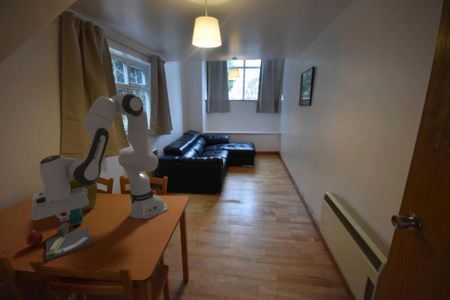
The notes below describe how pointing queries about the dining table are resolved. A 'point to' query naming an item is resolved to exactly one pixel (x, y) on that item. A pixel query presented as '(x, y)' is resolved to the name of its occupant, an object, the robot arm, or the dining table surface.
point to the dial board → (69, 243)
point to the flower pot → (91, 192)
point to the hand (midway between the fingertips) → (65, 220)
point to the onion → (34, 238)
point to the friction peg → (59, 237)
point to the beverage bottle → (76, 216)
